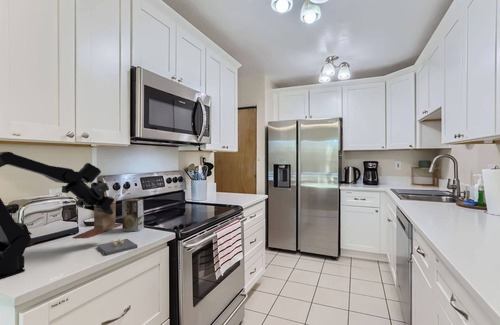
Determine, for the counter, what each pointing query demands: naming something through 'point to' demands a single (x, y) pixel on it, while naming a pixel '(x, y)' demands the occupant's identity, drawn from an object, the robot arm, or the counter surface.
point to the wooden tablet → (93, 232)
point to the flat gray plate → (116, 246)
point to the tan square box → (104, 218)
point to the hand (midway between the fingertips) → (107, 213)
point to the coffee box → (132, 214)
